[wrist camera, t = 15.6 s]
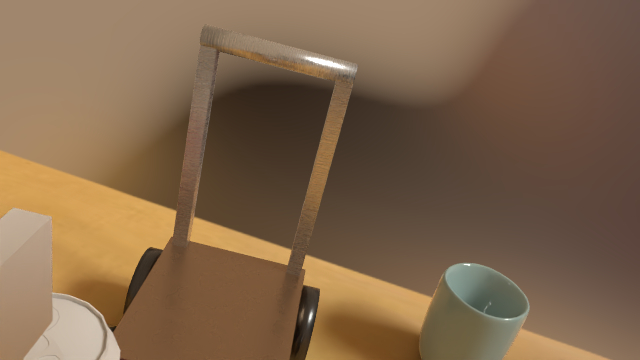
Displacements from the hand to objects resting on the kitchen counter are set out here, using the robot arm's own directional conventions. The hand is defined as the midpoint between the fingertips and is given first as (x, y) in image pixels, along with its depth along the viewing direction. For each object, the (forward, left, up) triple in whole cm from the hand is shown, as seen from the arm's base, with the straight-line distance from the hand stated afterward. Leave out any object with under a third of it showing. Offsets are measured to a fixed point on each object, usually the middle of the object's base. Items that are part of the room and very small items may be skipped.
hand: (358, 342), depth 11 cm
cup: (-16, -32, -29) cm, 46 cm away
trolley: (+6, -24, -29) cm, 38 cm away
